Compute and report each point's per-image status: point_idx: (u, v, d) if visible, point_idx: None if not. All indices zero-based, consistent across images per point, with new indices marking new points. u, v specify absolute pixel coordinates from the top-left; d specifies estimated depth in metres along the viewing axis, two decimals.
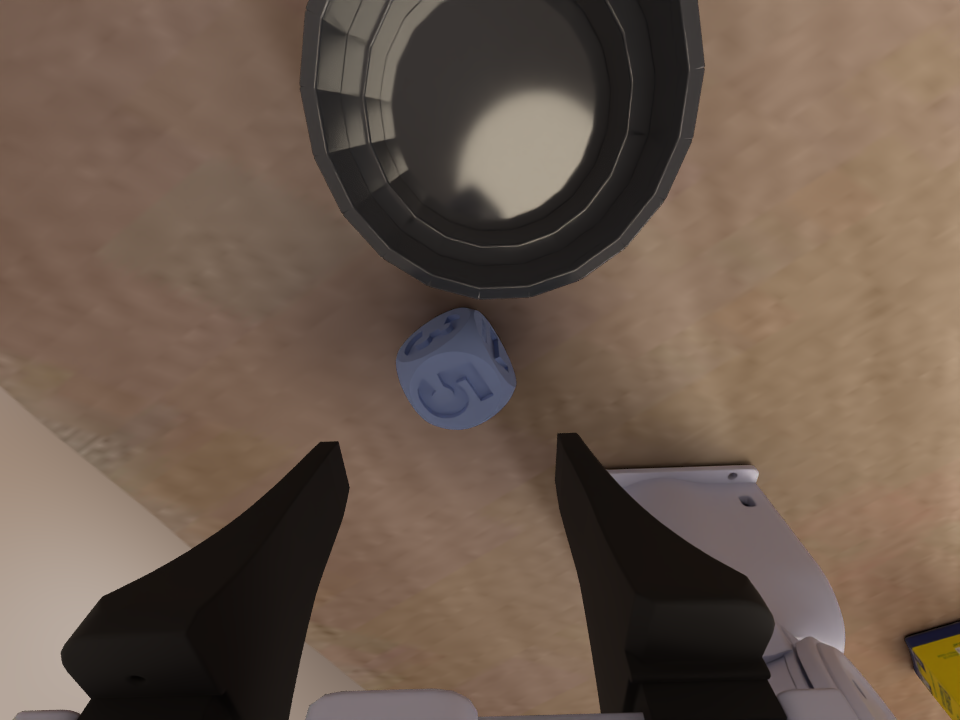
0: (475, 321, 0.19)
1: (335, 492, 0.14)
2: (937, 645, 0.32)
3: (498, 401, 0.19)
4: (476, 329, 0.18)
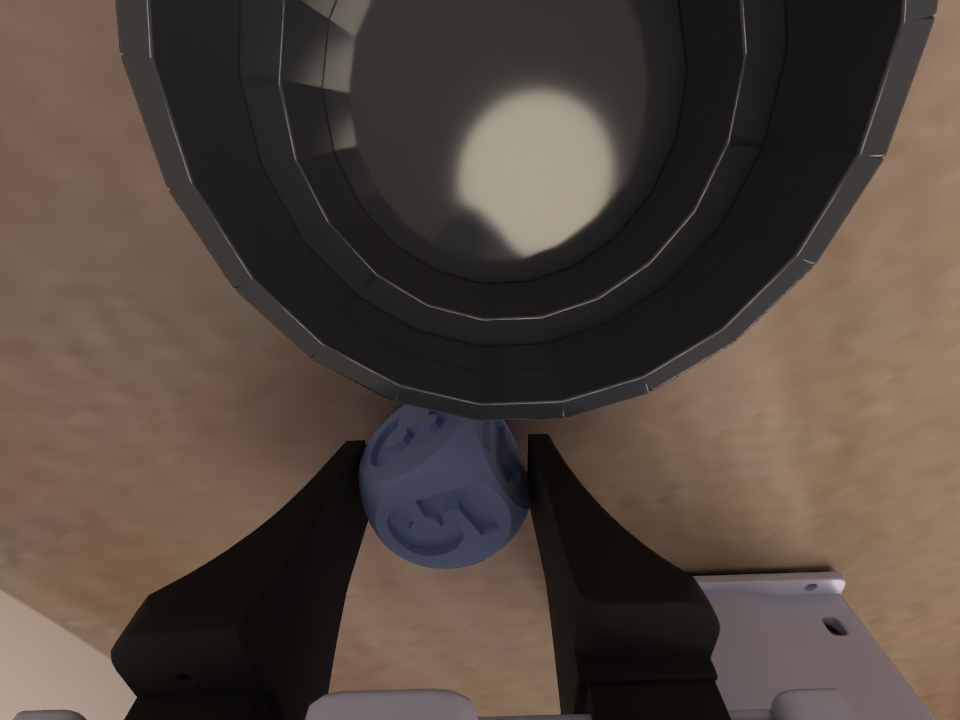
0: None
1: None
2: None
3: (507, 535, 0.13)
4: (474, 433, 0.12)
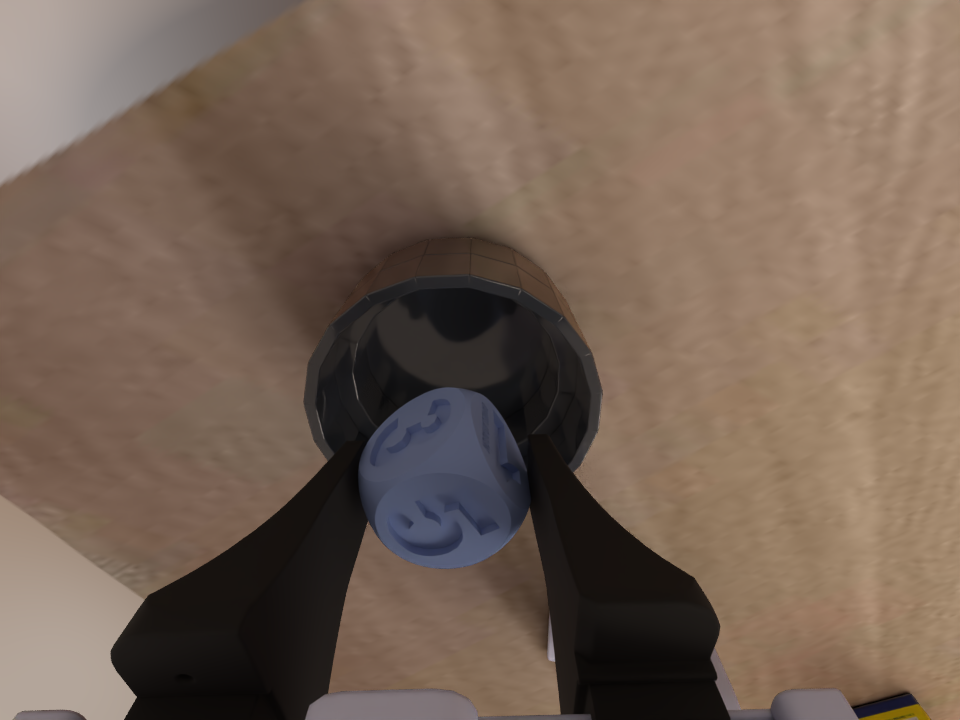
0: (472, 418, 0.13)
1: None
2: None
3: (507, 535, 0.13)
4: (473, 433, 0.12)
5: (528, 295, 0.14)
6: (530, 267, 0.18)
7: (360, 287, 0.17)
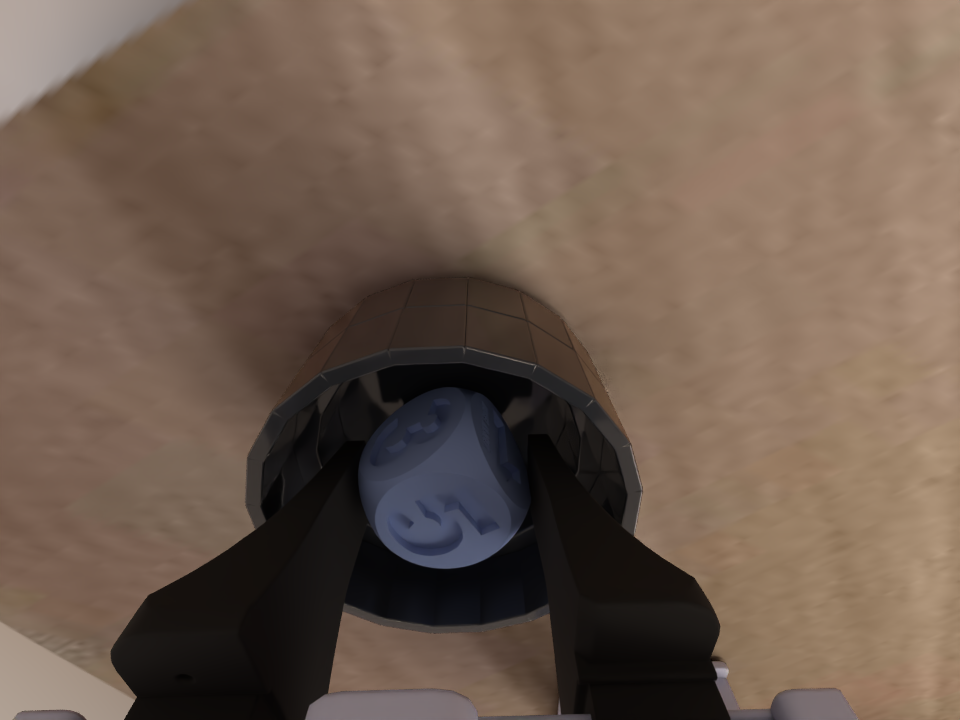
0: (472, 418, 0.13)
1: None
2: None
3: (507, 535, 0.13)
4: (473, 433, 0.12)
5: (545, 372, 0.10)
6: (544, 317, 0.14)
7: (322, 347, 0.13)
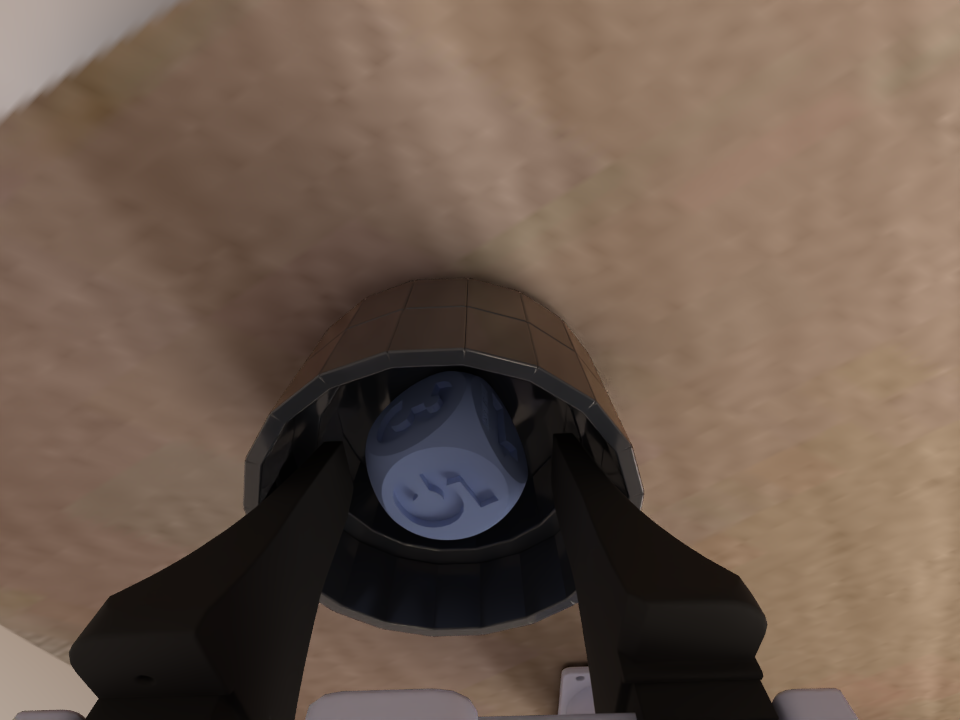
0: (473, 398, 0.13)
1: (339, 492, 0.14)
2: None
3: (505, 507, 0.14)
4: (474, 411, 0.13)
5: (546, 375, 0.10)
6: (545, 318, 0.14)
7: (321, 348, 0.13)
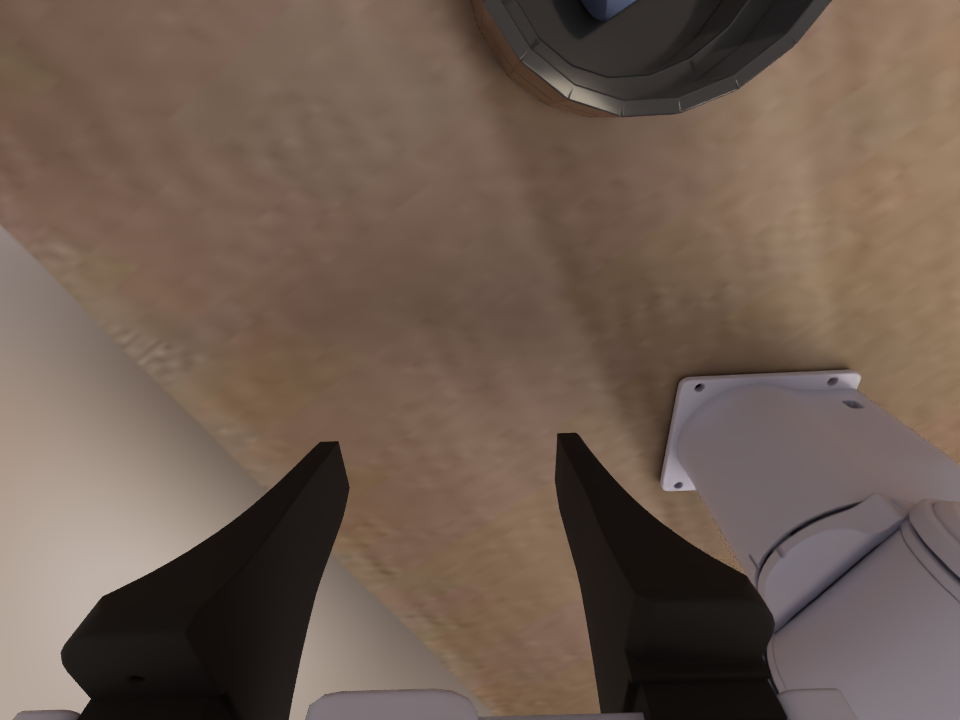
0: None
1: (335, 492, 0.14)
2: None
3: None
4: None
5: None
6: None
7: None
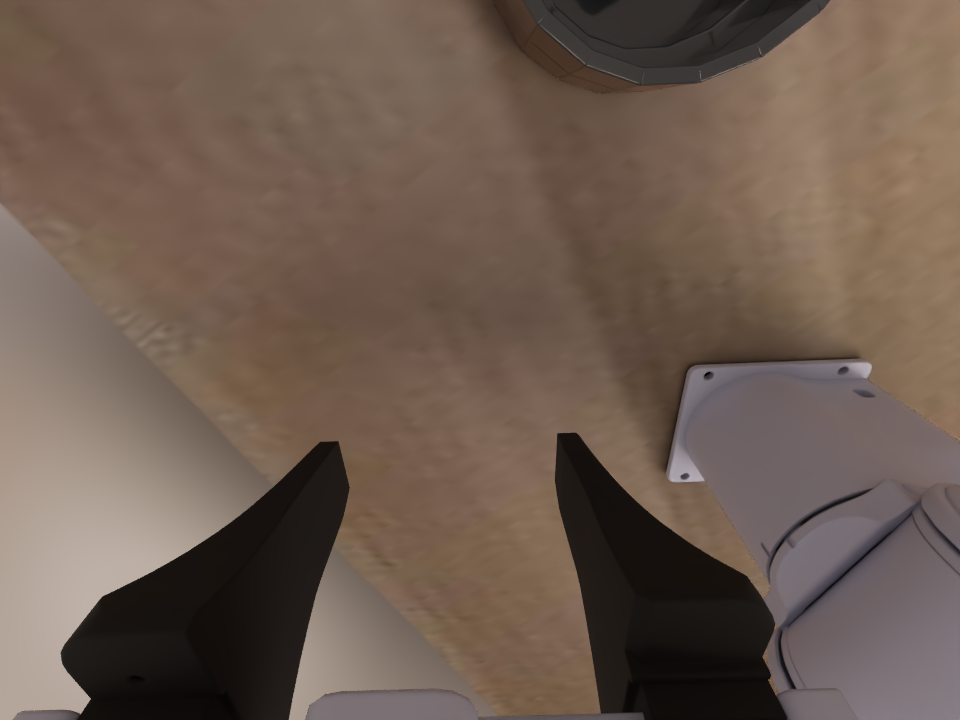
0: None
1: (335, 492, 0.14)
2: None
3: None
4: None
5: None
6: None
7: None
